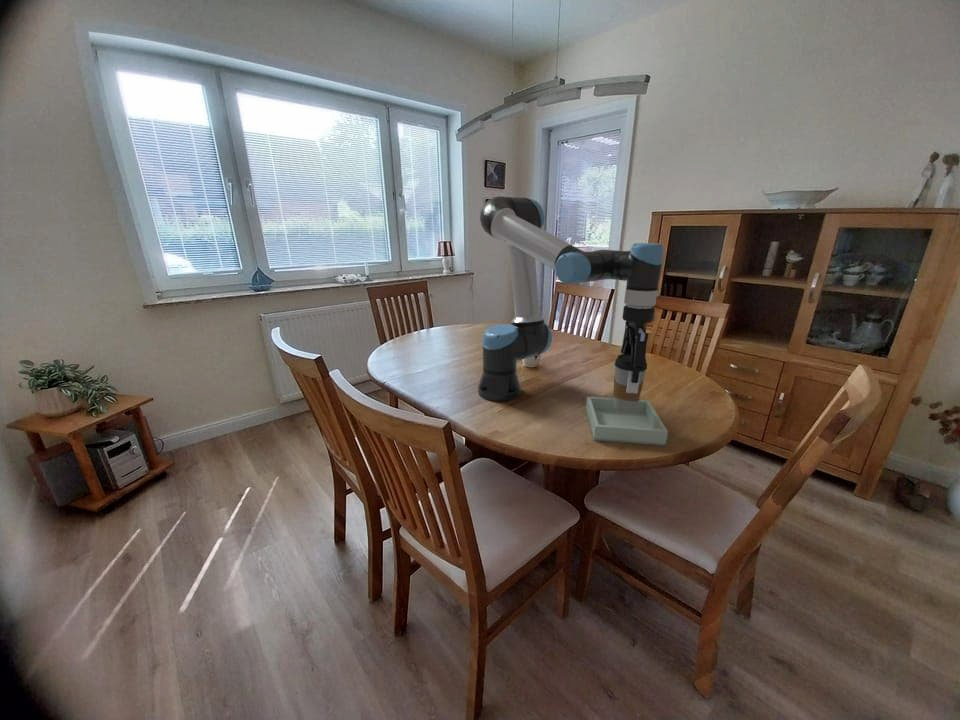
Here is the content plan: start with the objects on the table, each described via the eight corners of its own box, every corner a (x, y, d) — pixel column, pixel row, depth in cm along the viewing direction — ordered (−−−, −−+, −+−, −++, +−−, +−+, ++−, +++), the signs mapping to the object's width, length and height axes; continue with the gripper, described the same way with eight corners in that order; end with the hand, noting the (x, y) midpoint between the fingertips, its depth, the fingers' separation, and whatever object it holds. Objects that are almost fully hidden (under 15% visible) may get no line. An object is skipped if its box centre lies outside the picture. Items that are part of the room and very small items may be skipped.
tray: (593, 440, 98) (595, 426, 97) (585, 409, 115) (587, 396, 114) (665, 446, 96) (668, 431, 94) (646, 413, 113) (648, 400, 111)
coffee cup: (637, 417, 98) (645, 365, 93) (606, 409, 102) (612, 359, 97) (642, 405, 104) (650, 356, 99) (613, 398, 109) (619, 351, 104)
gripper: (668, 314, 83) (653, 403, 91) (643, 298, 103) (633, 372, 110) (634, 314, 84) (621, 401, 92) (616, 298, 104) (607, 371, 111)
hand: (628, 385), depth 101 cm, fingers closed on coffee cup, 8 cm apart
